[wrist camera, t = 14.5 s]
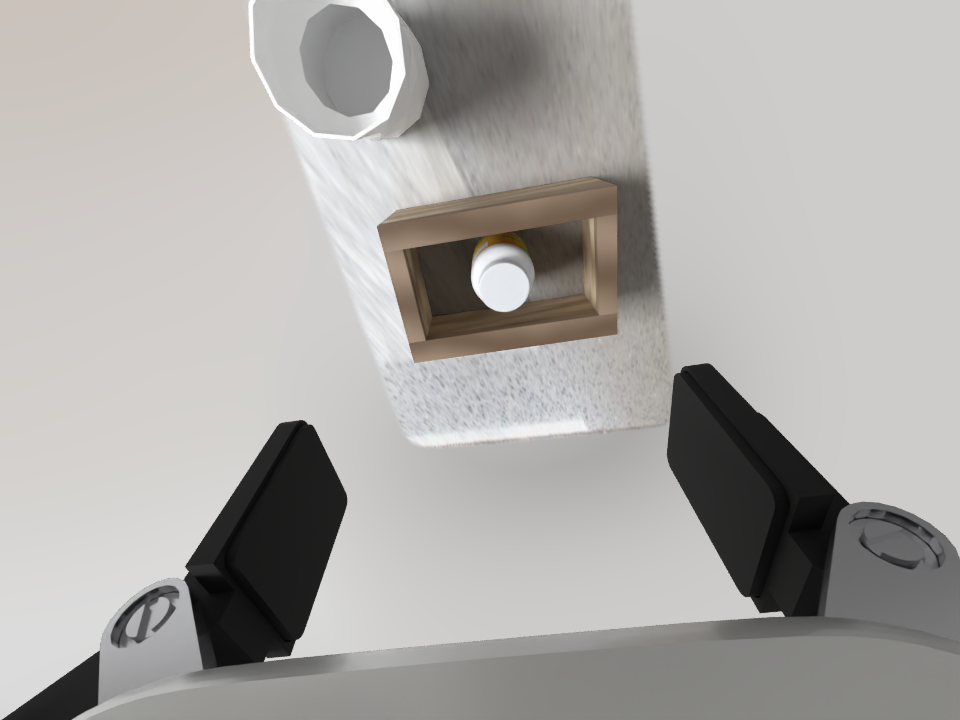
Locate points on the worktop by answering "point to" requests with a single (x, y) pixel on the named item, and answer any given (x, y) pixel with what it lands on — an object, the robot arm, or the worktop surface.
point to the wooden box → (497, 216)
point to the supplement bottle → (502, 271)
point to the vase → (339, 66)
